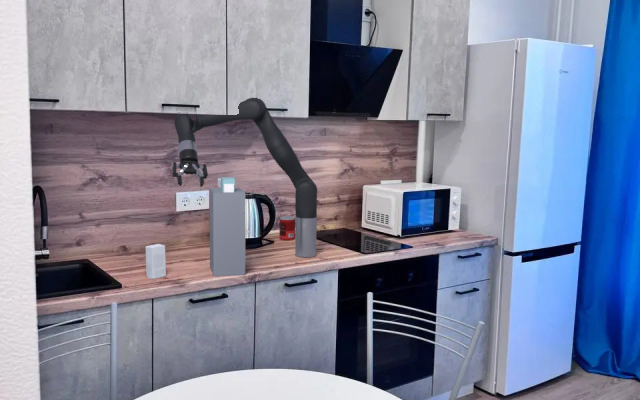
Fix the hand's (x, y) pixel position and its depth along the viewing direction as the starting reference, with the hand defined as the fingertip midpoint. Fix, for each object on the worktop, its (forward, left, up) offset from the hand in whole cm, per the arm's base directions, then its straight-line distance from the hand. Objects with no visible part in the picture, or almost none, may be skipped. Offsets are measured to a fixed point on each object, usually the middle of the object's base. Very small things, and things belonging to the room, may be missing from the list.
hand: (191, 185), depth 246 cm
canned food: (-57, +24, -32) cm, 69 cm away
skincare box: (+26, -2, -32) cm, 42 cm away
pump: (+6, +18, 0) cm, 19 cm away
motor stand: (+10, +20, -32) cm, 39 cm away
